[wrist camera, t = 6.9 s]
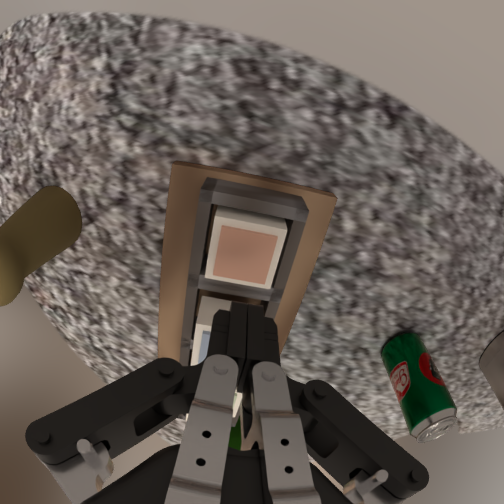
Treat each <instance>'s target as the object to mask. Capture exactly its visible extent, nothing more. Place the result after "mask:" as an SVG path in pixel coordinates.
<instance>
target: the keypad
mask: <svg viewBox="0 0 504 504" xmlns="http://www.w3.org/2000/svg"><path fill="white" fill-rule="evenodd" d="M336 201H337V197H336V196H335V195H334V194H333V193H330V192H326V191H322V190H318V189H314V188H310V187H306V186H301V185H297V184H293V183H289V182H284V181H280V180H275V179H271V178H266V177H261V176H257V175H252V174H247V173H242V172H237V171H232V170H227V169H221V168H216V167H211V166H205V165H199V164H193V163H187V162H181V161H175V162H174V163H173V164H172V169H171V176H170V184H169V192H168V200H167V209H166V218H165V228H164V239H163V251H162V264H161V279H160V298H159V324H158V358H163V357H167V358H172V359H174V360H176V361H178V362H179V363H180V364H181V365H182V366H191V359H192V351H193V343H194V336H195V328H196V322H197V317H198V312H199V308H200V303H201V299H202V296H207V297H212V298H217V299H223V300H229V301H237V302H243V303H247V304H248V303H249V304H255V305H261V306H263V308H264V317H269V318H273V320H274V322H275V323H276V325H277V329H278V342H279V352H280V354H281V352H282V349H283V347H284V345H285V342H286V340H287V337H288V335H289V332H290V330H291V327H292V325H293V322H294V320H295V317H296V314H297V312H298V309H299V307H300V304H301V301H302V299H303V296H304V293H305V291H306V288H307V285H308V283H309V280H310V277H311V275H312V272H313V269H314V266H315V263H316V261H317V258H318V255H319V252H320V249H321V246H322V244H323V241H324V238H325V235H326V232H327V229H328V226H329V223H330V220H331V217H332V214H333V211H334V208H335V205H336ZM218 205H222V206H227V207H232V208H237V209H243V210H248V211H253V212H257V213H262V214H267V215H272V216H277V217H282V218H284V219H285V223H286V226H287V234H286V237H285V241H284V244H283V247H282V251H281V254H280V258H279V261H278V264H277V268H276V271H275V274H274V278H273V281H272V284H271V288H270V289H265V288H259V287H253V286H247V285H242V284H236V283H231V282H225V281H220V280H215V279H209V278H205V272H206V266H207V259H208V253H209V247H210V242H211V236H212V230H213V224H214V219H215V214H216V211H217V208H218ZM241 402H242V400H241ZM241 402H240V405H241ZM240 405H239V408H238V411H237V413H236V416H235V417H232V423H231V427H235V425H236V423H237V420H238V418H239V415H240ZM177 418H180V419H185V420H186V414H180V415H179V416H178V417H177Z"/></svg>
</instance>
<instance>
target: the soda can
mask: <svg viewBox="0 0 504 504" xmlns="http://www.w3.org/2000/svg"><path fill="white" fill-rule="evenodd" d="M381 357H382V361H383V363H384V366H385V368H386V371H387V373H388V376H389V378H390V381H391V383H392V386H393V388H394V391H395V394H396V396H397V399H398V402H399V404H400V407H401V410H402V413H403V415H404V418H405V421H406V424H407V427H408V430H409V433H410V435H411V436H413V437H414V438H416V441H417V442H418V443H425V442H428V441H431V440H434V439H436V438H438V437H440V436H442V435H443V434H445V433H446V432H448V431H449V430H450V429H451V428H453V427H454V425H455V424H456V423H457V417H456V413H457V408H456V406H455V403H454V401H453V399H452V397H451V395H450V393H449V391H448V389H447V387H446V385H445V383H444V381H443V379H442V377H441V375H440V373H439V371H438V369H437V367H436V366H435V364H434V362H433V360H432V358H431V356H430V354H429V352H428V351H427V349H426V347H425V345H424V343H423V342H422V340H421V338H420V336H419V335H417V334H415V333H402V334H399V335H397V336H395V337H394V338H392V339H391V340H390V341H389V342H388V343H387V344H386V345H385V347H384V349H383V351H382V355H381Z"/></svg>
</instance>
